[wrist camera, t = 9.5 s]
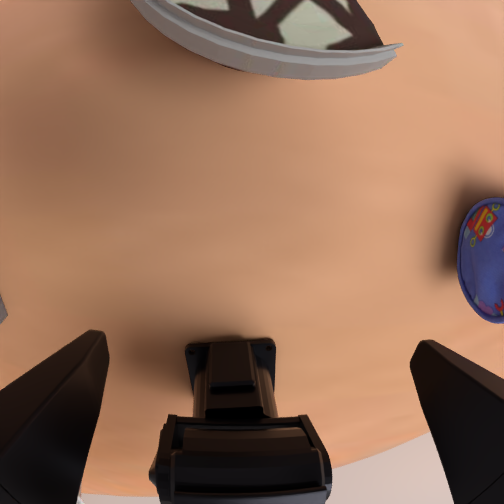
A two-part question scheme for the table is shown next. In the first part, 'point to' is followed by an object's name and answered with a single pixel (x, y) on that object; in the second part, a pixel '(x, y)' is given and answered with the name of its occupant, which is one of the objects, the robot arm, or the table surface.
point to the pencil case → (483, 259)
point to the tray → (2, 311)
